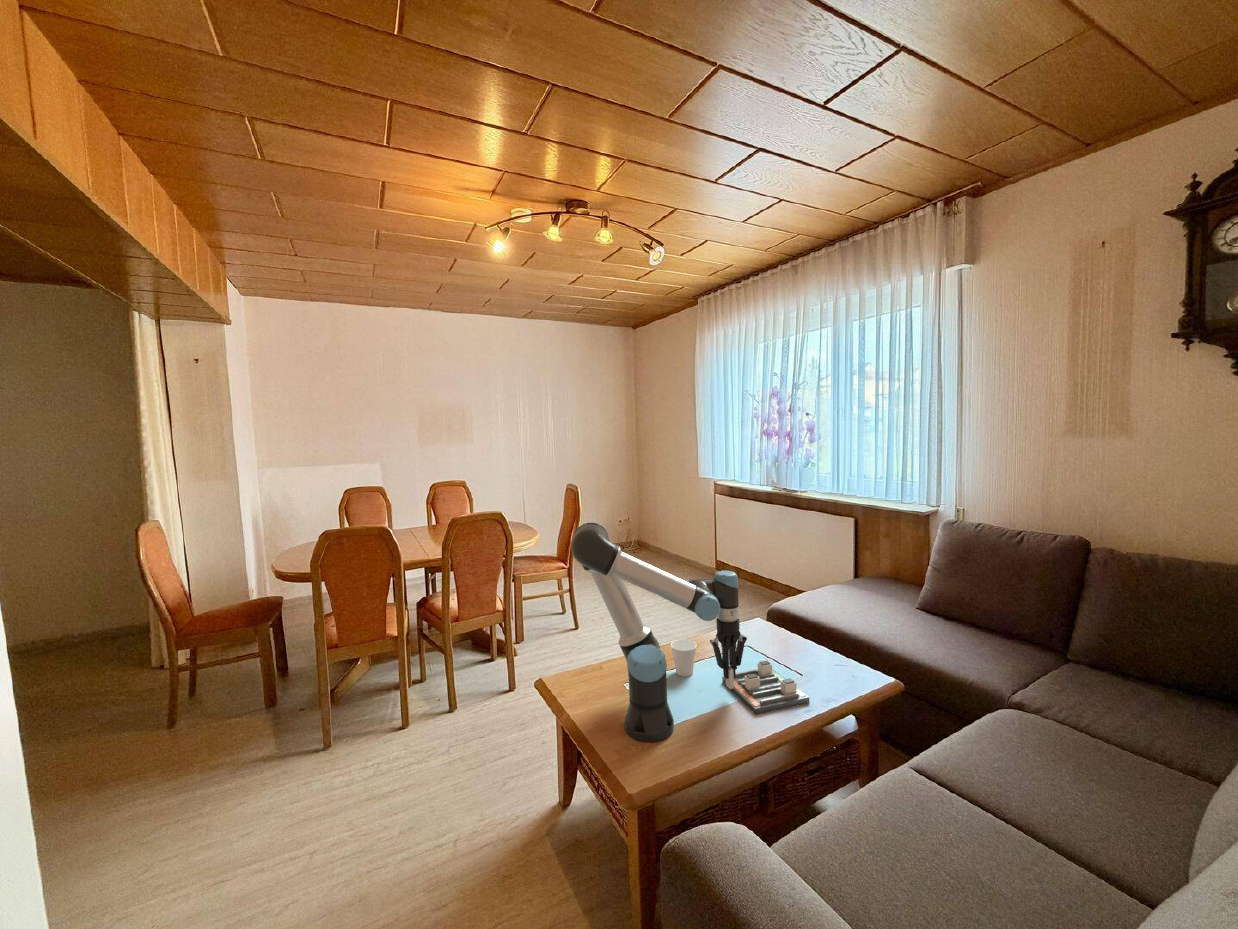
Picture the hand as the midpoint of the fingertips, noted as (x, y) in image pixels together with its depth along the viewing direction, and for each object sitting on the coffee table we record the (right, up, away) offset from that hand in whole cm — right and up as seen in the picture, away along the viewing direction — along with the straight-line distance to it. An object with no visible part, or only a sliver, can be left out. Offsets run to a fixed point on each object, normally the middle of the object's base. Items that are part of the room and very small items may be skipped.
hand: (729, 686), depth 164 cm
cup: (-13, -4, +19) cm, 24 cm away
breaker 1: (+8, -2, +2) cm, 9 cm away
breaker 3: (+19, -2, -2) cm, 19 cm away
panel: (+13, -4, +4) cm, 14 cm away
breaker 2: (+15, -1, +12) cm, 19 cm away
